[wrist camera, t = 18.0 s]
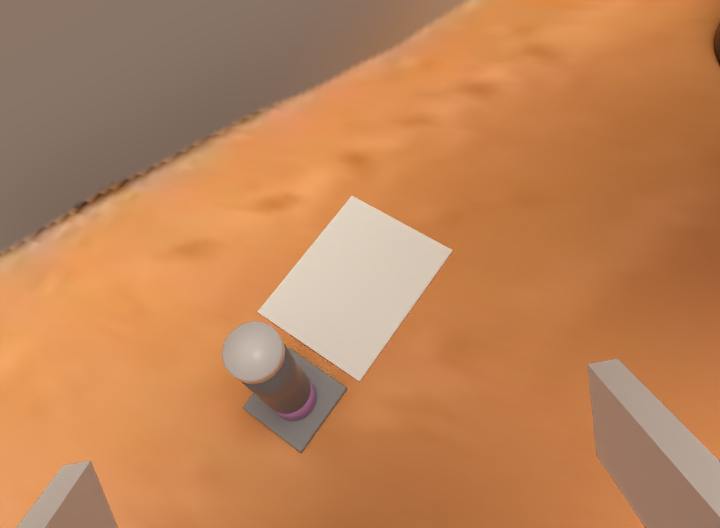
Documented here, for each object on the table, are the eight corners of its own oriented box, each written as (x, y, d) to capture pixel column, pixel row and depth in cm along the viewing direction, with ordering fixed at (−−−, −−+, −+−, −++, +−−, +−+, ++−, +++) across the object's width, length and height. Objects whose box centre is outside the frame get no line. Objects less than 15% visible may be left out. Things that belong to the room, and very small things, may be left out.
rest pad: (290, 349, 48) (289, 347, 48) (347, 388, 46) (346, 387, 46) (244, 408, 47) (242, 407, 46) (301, 453, 44) (300, 452, 44)
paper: (352, 196, 55) (351, 195, 54) (452, 251, 51) (452, 250, 50) (257, 312, 50) (257, 312, 50) (359, 382, 46) (359, 381, 46)
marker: (291, 366, 47) (248, 310, 37) (326, 391, 46) (293, 341, 35) (262, 404, 46) (210, 358, 36) (298, 431, 45) (255, 391, 34)
